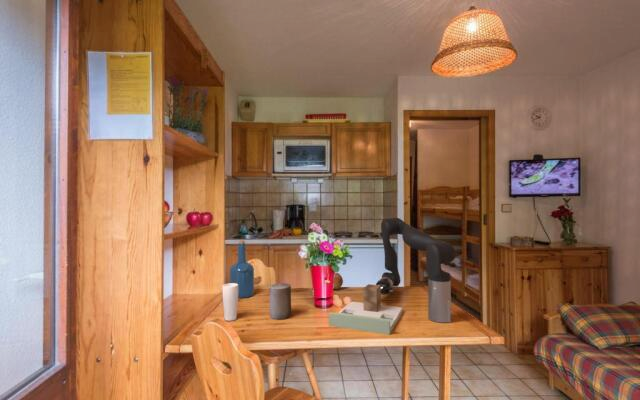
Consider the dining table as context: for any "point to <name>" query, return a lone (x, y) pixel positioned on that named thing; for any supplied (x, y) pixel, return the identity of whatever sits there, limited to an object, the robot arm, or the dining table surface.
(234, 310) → the drinking glass
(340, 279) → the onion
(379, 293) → the walnut block
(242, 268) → the wine bottle
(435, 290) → the robot arm
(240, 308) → the dining table surface
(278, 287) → the pillar candle
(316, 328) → the dining table surface
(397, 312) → the shallow open tray
